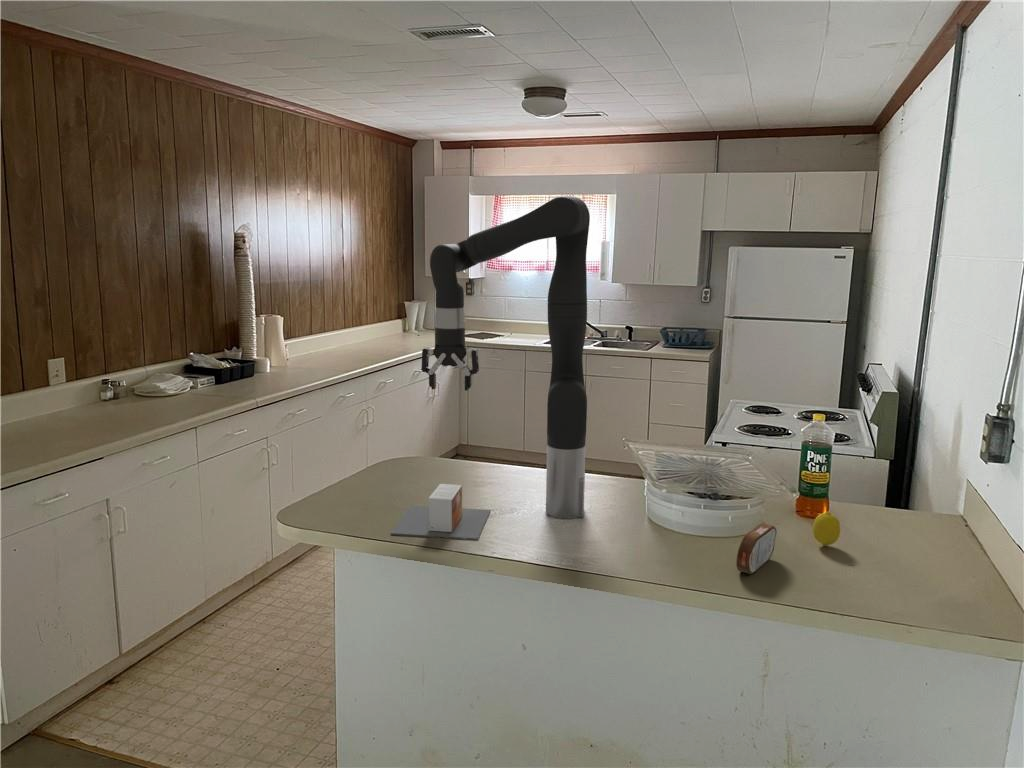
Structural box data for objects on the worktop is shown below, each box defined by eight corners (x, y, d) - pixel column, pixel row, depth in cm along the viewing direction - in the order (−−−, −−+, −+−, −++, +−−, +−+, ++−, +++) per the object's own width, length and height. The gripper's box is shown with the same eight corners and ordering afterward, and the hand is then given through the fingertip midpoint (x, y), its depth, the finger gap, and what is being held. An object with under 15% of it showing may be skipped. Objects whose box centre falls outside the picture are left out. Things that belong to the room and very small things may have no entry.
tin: (762, 553, 163) (765, 516, 162) (777, 557, 161) (780, 519, 160) (733, 577, 152) (736, 537, 150) (748, 581, 150) (751, 541, 148)
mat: (490, 511, 187) (490, 509, 186) (477, 540, 169) (478, 538, 169) (411, 507, 189) (411, 505, 189) (390, 534, 172) (390, 533, 171)
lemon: (822, 552, 164) (825, 517, 162) (806, 542, 169) (809, 508, 168) (844, 550, 165) (847, 515, 164) (827, 540, 171) (830, 506, 169)
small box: (462, 516, 182) (452, 533, 172) (439, 514, 183) (428, 531, 173) (462, 484, 180) (452, 500, 170) (439, 482, 181) (428, 498, 171)
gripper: (418, 326, 186) (419, 391, 190) (475, 328, 185) (475, 393, 188) (425, 323, 194) (426, 385, 197) (480, 324, 192) (480, 387, 195)
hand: (450, 389), depth 192 cm, fingers open, 8 cm apart
